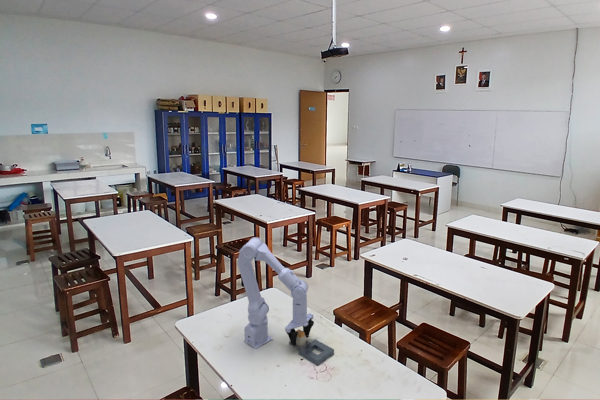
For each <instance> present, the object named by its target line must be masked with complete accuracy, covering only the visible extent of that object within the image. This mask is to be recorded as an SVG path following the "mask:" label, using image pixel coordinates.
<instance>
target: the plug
mask: <svg viewBox="0 0 600 400" xmlns="http://www.w3.org/2000/svg"><path fill="white" fill-rule="evenodd" d="M295 331H296V332H298V334H297V338H296V344H297V345H298V346H300V347H302V346H303V345H305V344H306V340H307V337H306V335H305V332H303V330H301V329H296V330H295Z"/></svg>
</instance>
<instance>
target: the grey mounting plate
mask: <svg viewBox="0 0 600 400" xmlns="http://www.w3.org/2000/svg"><path fill="white" fill-rule="evenodd" d="M310 342H311V341H309V340H307V339H306V344H305V345H307V344H308V343H310ZM288 345H289V346H291V347H293V348H295V349H296V350H297V351H298V350H299V349H301V348H302V347H304V346H305V345H303V346H302V347H300V346H298V345H297V344H296V345H295V346H293V345H292V344H291V342H290V341H289V342H288Z"/></svg>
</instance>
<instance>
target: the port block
mask: <svg viewBox="0 0 600 400" xmlns="http://www.w3.org/2000/svg"><path fill="white" fill-rule="evenodd" d="M309 342H310V343H308V344H307V345H305V346H304V347H302V348H301V349H299V350H298V349H297V351H298V355H299V356H300V357H302V358H304V359H305V360H307V361H309V362H311V363H312V364H314V365H316V366H320V365H321V364H322V363H323V362H325V361H326V360H327V359H329V358H330V357H332V356H333V355H334V354H335V349H334V348H332V347H331V346H328V345H327V344H325V343H323V342H321V341H319V340H318V339H313V340H312V341H309ZM314 350H316V351H317V352H319V354H318V353H315V352H313V351H314Z"/></svg>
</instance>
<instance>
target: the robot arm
mask: <svg viewBox="0 0 600 400" xmlns="http://www.w3.org/2000/svg"><path fill="white" fill-rule="evenodd" d="M238 252H239V254H238V257H237V261H236V262H237V263H236V264H237V265H238V270H239V273H240V276H241V280H242V283H243V287H244V290H245V294H246V297H247V301H248V306H247V312H248V315H247V319H248V322H249V323H248V324H247V325H245V327H244V331H243V332H244V339H243V342H244V343H246V344H247V345H249V346H250V347H252V348H254V349H255V350H257V349H258V348H260V347H261V346H263V345H265V344H267V343H268V342H270V341H272V340H273V337H271V336H270V335H269V325H268V324H269V323H268V322H269V321H268V316H267V314H268V313H269V311H270V307H269V304H268V303H267V302H266V300H265V298H264V297H262V295H261V292H260V291H261V290H260V289H259V288H260V287H259V285H258V281H257V278H256V274H255V270H254V268H253V265H252V262H253V260H254V259H255V261H257V262H258V261H264V262H265V264H266V265H268V266H269V267H270V268H271V269H272V270H273V271H274V272H276V274H277V276H278V278H277V279H278V280H279V281H280V282H281V283H282V284H283V285H284V286H285V287H286V288H287V289H288V291H289V292H290V296H291V297H292V320H291V321H290V322H289V323H288V324H287V325H286V326H284V327H285V328H284V331H285V332H286V334H287V336H288V338H289V342H291V344H292V345H293V346H295V345H296V338H297V334H298V332H296V331H297V330H296V329H297V328H301V327H302V331H303V332H305V335H306V339H308V338H309V336H310V333H311V331H312V330H311V329H312V327H313V326H314V325H315V322H314V314H313V313H311V312H309V313H307V312H308V303H307V302H308V299H307V296H308V295H307V294H308V293H307V292H308V291H309V286H308V285H309V284H308V283H307V282H306V281H305V280H303V279H301V278H299V277H298V276H297V275H296V274H295V273H294V270H293V269H290V268H289V267H284V266H283V265H282V263H281V262H280V261H279V260H278V258H277V257H276V256H275V255H274V254H273V253H272V252H271V250H270V249H269V247H268V245H267V244H266V243H265V242H263V240H262V239H261V238H260V237H258V236H257V237H255V236H254V237H252V238H250V239H249V241H248V242H246V243H245V244H244V245H243V246H242V247H241V248H240V249H239V251H238ZM293 346H292V347H293Z"/></svg>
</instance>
